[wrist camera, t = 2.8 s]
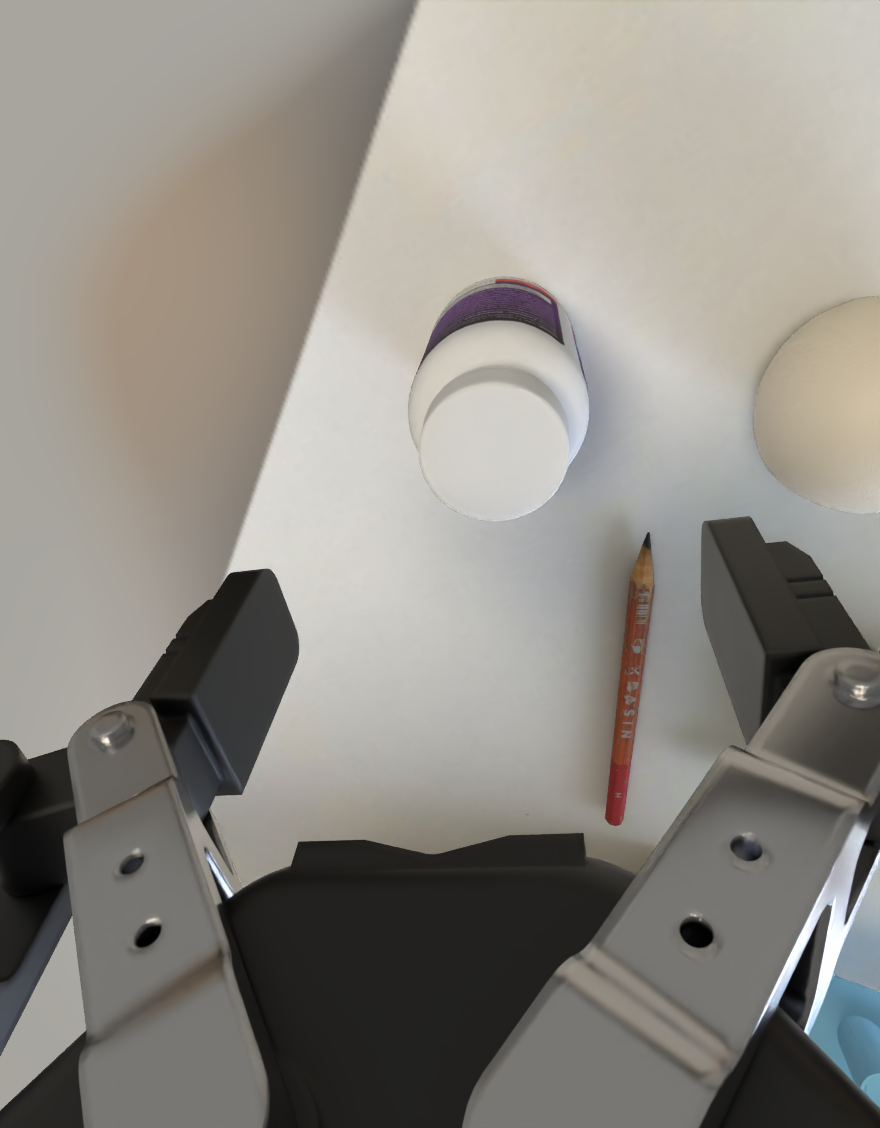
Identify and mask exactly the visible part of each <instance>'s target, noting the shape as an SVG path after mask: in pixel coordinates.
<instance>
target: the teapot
mask: <svg viewBox="0 0 880 1128" xmlns="http://www.w3.org/2000/svg"><path fill="white" fill-rule="evenodd" d="M809 1037H810V1038H811V1039H812V1040H813V1041H814V1042H815V1043H816V1044H817V1045H818V1046H819V1047H820V1048H821V1049H822V1050H823V1051H824V1052H825V1053H826V1054H827V1055H828V1056H829V1057H830V1058H831V1059H832V1060H833V1061H834V1062H835V1063H836V1064H837V1065H838V1066H839V1067H840V1068H841V1069H842V1070H843V1071H844V1072H845V1073H846V1074H847V1075H848V1076H849V1077H850V1079H851V1080H852V1081H853V1082H854V1083H855V1084H856V1085H857V1086H858V1087H859V1088H860V1089H861V1090H862V1091H863V1092H864V1093H865V1094H866V1095H867V1096H868V1097H869V1098H870V1099H871V1100H872V1101H873V1102H874V1103H875V1104H876V1105H877V1106H878V1107H879V1108H880V993H879V992H877V991H874V990H872V989H869V988H867V987H864V986H862V985H859V984H856V983H853V982H851V981H848V980H845V979H842V978H839V977H836V976H833V975H832V978H831V981H830V984H829V987H828V990H827V992H826V995H825V998H824V1000H823V1003H822V1005H821V1008H820V1010H819V1013H818V1015H817V1017H816V1020H815V1022H814V1024H813V1027H812V1029H811V1031H810V1033H809Z"/></svg>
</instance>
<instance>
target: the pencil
mask: <svg viewBox="0 0 880 1128" xmlns="http://www.w3.org/2000/svg"><path fill="white" fill-rule="evenodd" d="M653 592H654V577H653V566H652V555H651V543H650V533H649V532H648V533H647V535H646V538H645V540H644V542H643V545H642V548H641V550H640V553H639V556H638V558H637V561H636V564H635V567H634V569H633V572H632V575H631V577H630V586H629V595H628V605H627V614H626V624H625V633H624V643H623V652H622V662H621V671H620V681H619V690H618V700H617V709H616V719H615V728H614V738H613V748H612V757H611V767H610V776H609V786H608V795H607V805H606V814H605V819H606V820H607V822H608V823H609V824H610V825H614V826H618V825H621V823H622V821H623V818H624V810H625V803H626V795H627V788H628V780H629V773H630V765H631V758H632V750H633V742H634V735H635V727H636V720H637V712H638V705H639V697H640V690H641V682H642V675H643V667H644V660H645V652H646V644H647V637H648V629H649V622H650V614H651V607H652V599H653Z"/></svg>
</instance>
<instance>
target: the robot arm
mask: <svg viewBox="0 0 880 1128" xmlns="http://www.w3.org/2000/svg"><path fill="white" fill-rule="evenodd" d="M701 604H702V613H703V619H704V623H705V627H706V631H707V633H708V636H709V639H710V642H711V645H712V648H713V650H714V653H715V656H716V659H717V662H718V665H719V667H720V670H721V673H722V676H723V679H724V682H725V684H726V687H727V690H728V693H729V696H730V699H731V702H732V704H733V707H734V710H735V713H736V716H737V719H738V721H739V724H740V727H741V730H742V733H743V736H744V738H745V741H746V744H747V747H746V748H745V749H744V750H743V749H741V748H738V747H736V746H729V747H727V748H726V749H725V750H724V751H723V752H722V753H721V754H720V756H719V757H718V758H717V760H716V761H715V763H714V764H713V766H712V767H711V769H710V770H709V771H708V773H707V774H706V776H705V777H704V779H703V780H702V782H701V783H700V784H699V786H698V787H697V789H696V790H695V792H694V793H693V795H692V796H691V797H690V799H689V800H688V802H687V803H686V805H685V806H684V808H683V809H682V810H681V812H680V813H679V815H678V816H677V818H676V819H675V821H674V822H673V823H672V825H671V826H670V828H669V829H668V831H667V832H666V834H665V835H664V836H663V838H662V839H661V841H660V842H659V844H658V845H657V847H656V848H655V849H654V851H653V852H652V854H651V855H650V857H649V858H648V860H647V861H646V862H645V864H644V865H643V867H642V868H641V870H640V871H639V873H638V874H637V875H636V874H634V873H632V872H630V871H627V870H625V869H623V868H621V867H619V866H616V865H613V864H610V863H608V862H605V861H602V860H598V859H593V858H589V857H586V850H585V842H584V834H583V833H573V834H540V835H509V836H505V837H501V838H497V839H494V840H490V841H486V842H482V843H479V844H475V845H471V846H467V847H463V848H460V849H456V850H452V851H448V852H444V853H440V854H424V853H420V852H416V851H411V850H407V849H402V848H398V847H394V846H389V845H385V844H380V843H376V842H372V841H367V840H341V841H308V842H298V845H297V848H296V851H295V855H294V858H293V861H292V864H291V866H289V867H285V868H283V869H280V870H278V871H275V872H273V873H270V874H268V875H266V876H264V877H262V878H260V879H258V880H256V881H254V882H252V883H251V884H249V885H247V886H246V887H244V888H243V887H242V885H241V882H240V880H239V877H238V875H237V872H236V870H235V867H234V864H233V862H232V859H231V857H230V854H229V852H228V849H227V846H226V844H225V841H224V839H223V836H222V834H221V831H220V828H219V826H218V823H217V821H216V818H215V817H214V815H213V813H212V811H211V809H210V806H211V804H212V802H213V800H214V797H215V796H223V795H242V793H243V791H244V788H245V786H246V784H247V781H248V779H249V776H250V774H251V772H252V769H253V767H254V764H255V762H256V760H257V757H258V755H259V752H260V750H261V748H262V745H263V743H264V740H265V738H266V736H267V733H268V731H269V728H270V726H271V723H272V721H273V719H274V716H275V714H276V711H277V709H278V707H279V704H280V702H281V699H282V697H283V695H284V692H285V690H286V687H287V685H288V683H289V680H290V678H291V675H292V673H293V671H294V668H295V666H296V663H297V660H298V655H299V639H298V634H297V630H296V628H295V625H294V622H293V620H292V617H291V614H290V612H289V609H288V607H287V604H286V601H285V599H284V596H283V593H282V591H281V588H280V586H279V583H278V580H277V578H276V576H275V574H274V573H273V572H272V571H271V570H270V569H259V570H250V571H241V572H233V573H230V574H229V575H228V576H227V578H226V579H225V581H224V582H223V584H222V585H221V587H220V589H219V590H218V592H217V593H216V595H215V596H214V598H213V599H212V600H207V601H206V602H205V603H204V604H203V605H202V606H200V607H199V608H198V609H197V610H196V611H194V612H193V613H192V614H191V615H190V616H188V618H187V619H186V621H185V622H184V623H183V625H182V626H181V628H180V630H179V631H178V633H177V634H176V639H173V640H172V641H171V643H170V645H169V646H168V647H167V649H166V654H163V655H162V656H161V658H160V659H159V661H158V662H157V664H156V665H155V667H154V668H153V670H152V671H151V673H150V674H149V676H148V677H147V679H146V680H145V682H144V683H143V685H142V686H141V688H140V689H139V691H138V692H137V694H136V695H135V697H134V698H133V700H132V701H127V702H122V703H119V704H116V705H113V706H111V707H108V708H106V709H104V710H102V711H100V712H99V713H97V714H96V715H94V716H92V717H91V718H90V719H89V720H87V721H86V722H85V723H84V724H83V725H82V726H80V727H79V729H78V730H77V731H76V732H75V733H74V735H73V736H72V738H71V740H70V742H69V744H68V747H67V748H64V749H61V750H57V751H54V752H51V753H48V754H44V755H41V756H38V757H35V758H32V759H28V760H27V758H26V757H25V756H24V754H23V753H22V751H21V750H20V749H19V748H18V746H17V745H16V744H15V743H14V742H12V741H9V740H0V1056H1V1054H2V1052H3V1050H4V1048H5V1046H6V1044H7V1042H8V1040H9V1038H10V1036H11V1034H12V1032H13V1030H14V1028H15V1026H16V1024H17V1023H18V1021H19V1019H20V1016H21V1015H22V1012H23V1011H24V1009H25V1007H26V1005H27V1003H28V1001H29V999H30V997H31V995H32V993H33V991H34V989H35V987H36V985H37V983H38V981H39V979H40V977H41V975H42V974H43V972H44V970H45V968H46V966H47V964H48V962H49V960H50V958H51V956H52V954H53V952H54V950H55V948H56V946H57V944H58V942H59V940H60V938H61V936H62V934H63V932H64V930H65V928H66V926H67V924H68V922H69V921H70V919H71V917H72V916H73V925H74V933H75V941H76V949H77V957H78V965H79V973H80V982H81V990H82V998H83V1005H84V1013H85V1022H86V1031H85V1032H84V1033H83V1034H82V1035H81V1036H80V1037H79V1038H78V1039H77V1040H75V1041H74V1043H72V1044H71V1045H70V1046H69V1047H68V1048H67V1049H66V1050H65V1051H64V1052H63V1053H61V1054H60V1055H59V1056H58V1057H57V1058H56V1059H55V1060H54V1061H53V1062H52V1063H51V1064H50V1065H49V1066H48V1067H46V1068H45V1069H44V1070H43V1071H42V1072H41V1073H40V1074H39V1075H38V1076H37V1077H36V1078H35V1079H34V1080H33V1081H32V1082H31V1083H29V1084H28V1085H27V1086H26V1087H25V1088H24V1089H23V1090H22V1091H21V1092H20V1093H19V1094H18V1095H17V1096H15V1097H14V1098H13V1099H12V1100H11V1101H10V1102H9V1103H8V1104H7V1105H6V1106H5V1107H4V1108H3V1109H2V1110H1V1111H0V1128H880V1108H879V1107H878V1106H877V1105H876V1104H875V1103H874V1102H873V1101H872V1100H871V1099H870V1098H869V1097H868V1096H867V1095H866V1094H865V1093H864V1092H863V1091H862V1090H861V1089H860V1088H859V1087H858V1086H857V1085H856V1084H855V1083H854V1082H853V1081H852V1080H851V1079H850V1077H849V1076H848V1075H847V1074H846V1073H845V1072H844V1071H843V1070H842V1069H841V1068H840V1067H839V1066H838V1065H837V1064H836V1063H835V1062H834V1061H833V1060H832V1059H831V1058H830V1057H829V1056H828V1055H827V1054H826V1053H825V1052H824V1051H823V1050H822V1049H821V1048H820V1047H819V1046H818V1045H817V1044H816V1043H815V1042H814V1041H813V1040H812V1039H811V1038H810V1037H809V1033H810V1031H811V1029H812V1027H813V1024H814V1022H815V1020H816V1017H817V1015H818V1013H819V1010H820V1008H821V1005H822V1003H823V1000H824V998H825V995H826V992H827V990H828V987H829V984H830V981H831V978H832V975H833V972H834V969H835V966H836V963H837V960H838V957H839V954H840V951H841V948H842V946H843V943H844V941H845V939H846V936H847V934H848V932H849V929H850V927H851V925H852V923H853V920H854V918H855V916H856V913H857V911H858V909H859V907H860V904H861V902H862V900H863V897H864V895H865V893H866V891H867V888H868V886H869V884H870V881H871V879H872V877H873V875H874V872H875V870H876V868H877V866H878V863H879V861H880V653H878V652H874V651H871V649H870V648H869V646H868V645H867V643H866V642H865V640H864V639H863V637H862V635H861V634H860V632H859V631H858V629H857V628H856V626H855V625H854V623H853V621H852V620H851V618H850V617H849V615H848V614H847V612H846V611H845V609H844V608H843V606H842V604H841V603H840V601H839V600H838V598H837V597H836V596H834V595H833V591H832V589H831V587H830V586H829V584H828V583H827V581H826V580H823V575H822V574H821V572H820V570H819V569H818V567H817V566H816V564H815V563H814V561H813V560H812V558H811V557H810V556H809V555H807V554H806V553H804V552H803V551H801V550H799V549H798V548H796V547H795V546H793V545H791V544H790V543H788V542H787V541H784V542H774V543H765V541H764V539H763V537H762V536H761V534H760V532H759V530H758V529H757V527H756V525H755V523H754V521H753V520H752V518H751V517H749V516H747V517H738V518H729V519H720V520H711V521H704V522H703V525H702V537H701Z"/></svg>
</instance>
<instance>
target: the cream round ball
mask: <svg viewBox="0 0 880 1128" xmlns="http://www.w3.org/2000/svg"><path fill="white" fill-rule="evenodd" d="M753 430H754V437H755V441H756V444H757V447H758V450H759V453H760V456H761V458H762V460H763V462H764V464H765V466H766V467H767V469H768V470H769V471H770V472H771V474H772V475H773V476H774V477H775V478H776V479H777V480H779V481H780V482H781V483H782V484H783V485H784V486H786V487H787V488H788V489H790V490H791V491H793V492H795V493H796V494H798V495H799V496H801V497H803V498H805V499H807V500H809V501H811V502H813V503H816V504H818V505H821V506H824V507H828V508H831V509H834V510H838V511H843V512H849V513H861V514H862V513H863V514H865V513H869V514H870V513H880V297H874V296H873V297H864V298H859V299H855V300H852V301H849V302H846V303H843V304H841V305H838V306H836V307H834V308H831V309H829V310H827V311H825V312H823V313H821V314H819V315H817V316H816V317H814V318H813V319H811V320H810V321H808V322H807V323H806V324H804V325H803V326H802V327H801V328H799V329H798V330H797V331H796V332H795V333H794V334H793V335H791V336H790V337H789V338H788V339H787V341H786V342H785V343H784V344H783V345H782V346H781V348H780V349H779V350H778V352H777V353H776V355H775V356H774V358H773V359H772V361H771V362H770V364H769V366H768V368H767V370H766V372H765V374H764V376H763V378H762V380H761V383H760V385H759V388H758V391H757V395H756V398H755V404H754V412H753Z"/></svg>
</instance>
